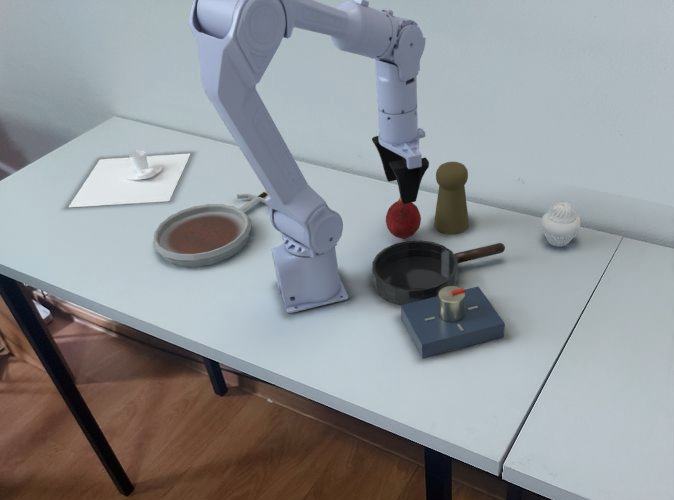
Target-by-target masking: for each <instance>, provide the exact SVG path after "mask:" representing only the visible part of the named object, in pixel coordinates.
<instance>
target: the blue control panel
mask: <svg viewBox="0 0 674 500" xmlns="http://www.w3.org/2000/svg"><path fill="white" fill-rule="evenodd" d="M464 290H465V314H464V317H463V318H462V319H461V320H459V321H455V322H448V321H444V320H443V319H441V318H440V317H439V305H438V296H436V297H432V298H428V299H424V300H420V301H416V302H412V303H408V304H404V305H400V319H401V320H402V323H403V324H404V326H405V328H406V330H407V332H408V334H409V335H410V338H411V339H412V342H413V343H414V345H415V347H416V349H417V351H418V353H419V354H420V357H421V359H425V358H428V357H432V356H436V355H439V354H444V353H447V352H451V351H456V350H459V349H463V348H467V347H470V346H474V345H477V344H481V343H485V342H489V341H493V340H497V339H500V338H504V337H505V328H506V327H505V326H506V323H505V321H504V319H502V317H501V316H500V314H499V313H498V311H497V310H496V309H495V307H494V306H493V304H492V303H491V302H490V300H489V298H488V297H487V296H486V294H485V293H484V292H483V291H482V289H481V288H480V286H479V285H477V286H473V287H468V288H464Z"/></svg>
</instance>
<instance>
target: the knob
mask: <svg viewBox="0 0 674 500" xmlns="http://www.w3.org/2000/svg"><path fill="white" fill-rule="evenodd" d="M438 305H439V317H440V318H441V319H443V320H444V321H448V322H455V321H459V320H461V319H462V318H463V317H464V314H465V288H464V287H460V286H457V285H456V286H447V287H444V288H442V289H441V290H440V291H439V294H438Z"/></svg>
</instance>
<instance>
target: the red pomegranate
mask: <svg viewBox="0 0 674 500" xmlns="http://www.w3.org/2000/svg"><path fill="white" fill-rule="evenodd" d="M421 222H422V216H421V213H420V210H419V208H418V206H417V205H416V204H415V203H414V202H412V203H407V204H403V202H402V200H401V197H400V196H399V198H398V200H397V201H395V202H394V203H392V205H390V206H389V207H388V210H387V212H386V215H385V224H386V228H387V230H388V232H389V233H390V234H391V235H392V236H394V237H395V238H397V239H400V240H407V239H409V238H411V237H413V236H414V235H415V234H416V233H417V232H418V231H419V229H420V228H421Z"/></svg>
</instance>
